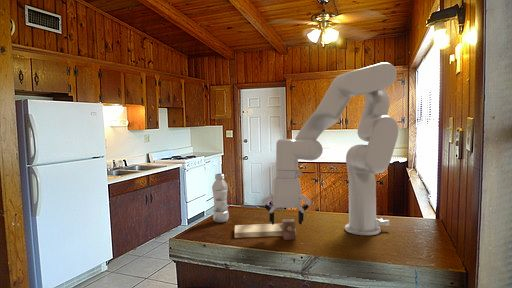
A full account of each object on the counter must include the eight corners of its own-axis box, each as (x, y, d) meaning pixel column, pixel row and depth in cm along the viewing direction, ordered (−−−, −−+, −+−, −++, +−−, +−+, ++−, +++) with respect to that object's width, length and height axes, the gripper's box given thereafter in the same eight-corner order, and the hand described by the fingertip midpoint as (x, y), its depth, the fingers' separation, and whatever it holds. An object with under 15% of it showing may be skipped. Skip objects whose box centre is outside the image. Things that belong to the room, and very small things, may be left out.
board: (292, 227, 126) (292, 223, 126) (296, 235, 117) (296, 230, 117) (235, 229, 125) (234, 225, 125) (234, 237, 116) (234, 232, 116)
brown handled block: (290, 228, 125) (289, 212, 125) (295, 240, 112) (295, 222, 112) (279, 228, 125) (279, 213, 125) (284, 240, 112) (283, 223, 112)
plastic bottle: (232, 221, 137) (231, 173, 136) (220, 225, 132) (218, 175, 131) (222, 218, 141) (220, 172, 140) (209, 222, 136) (208, 174, 135)
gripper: (309, 173, 118) (308, 220, 119) (261, 173, 117) (260, 220, 118) (313, 176, 110) (313, 226, 111) (262, 176, 110) (262, 226, 110)
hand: (286, 223), depth 114 cm, fingers open, 9 cm apart
